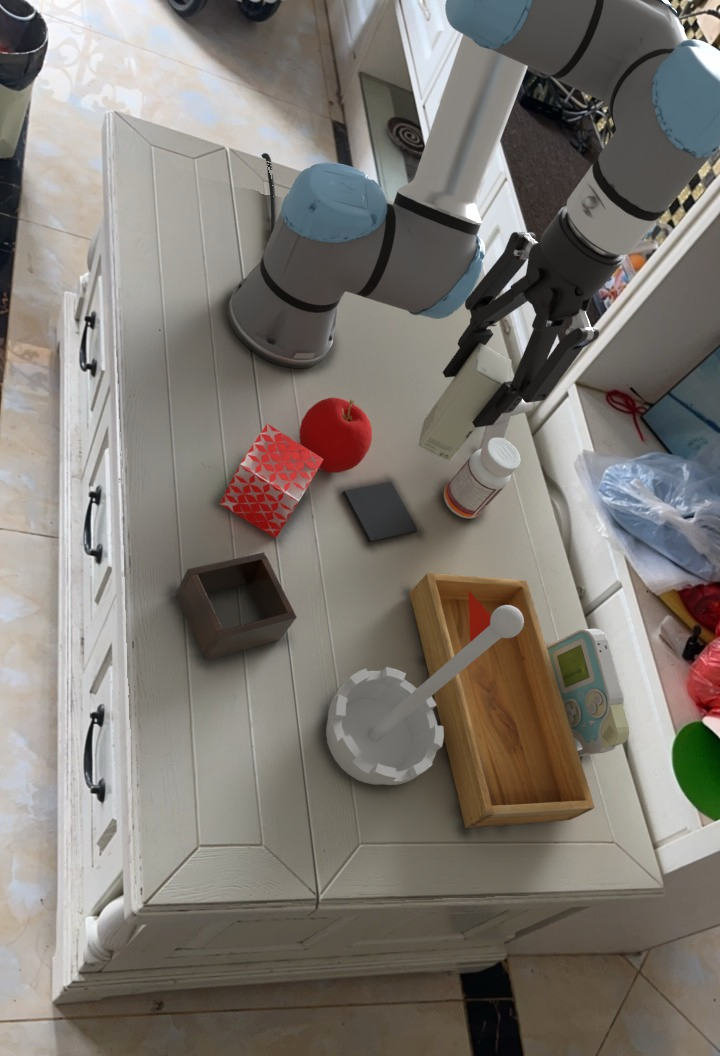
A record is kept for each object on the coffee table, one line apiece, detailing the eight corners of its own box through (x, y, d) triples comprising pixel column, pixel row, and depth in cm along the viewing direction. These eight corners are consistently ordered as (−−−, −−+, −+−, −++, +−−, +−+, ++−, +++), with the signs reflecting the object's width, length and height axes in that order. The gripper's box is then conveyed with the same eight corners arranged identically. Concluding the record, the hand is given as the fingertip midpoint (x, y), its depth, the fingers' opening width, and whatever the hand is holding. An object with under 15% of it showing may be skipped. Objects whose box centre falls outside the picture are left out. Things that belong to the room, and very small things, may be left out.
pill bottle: (470, 483, 127) (514, 433, 118) (485, 519, 125) (531, 471, 116) (435, 484, 124) (477, 433, 115) (450, 521, 121) (494, 472, 112)
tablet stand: (480, 406, 136) (510, 369, 129) (508, 446, 134) (539, 411, 127) (441, 416, 131) (470, 377, 124) (469, 458, 129) (500, 421, 122)
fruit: (363, 454, 120) (396, 406, 112) (340, 495, 115) (372, 448, 107) (306, 416, 119) (335, 365, 111) (279, 457, 114) (307, 406, 106)
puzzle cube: (246, 463, 111) (267, 423, 104) (300, 496, 112) (323, 459, 106) (219, 504, 106) (239, 464, 100) (275, 538, 107) (298, 501, 101)
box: (448, 463, 103) (509, 390, 93) (416, 447, 102) (473, 371, 92) (454, 432, 106) (514, 358, 96) (423, 416, 105) (479, 340, 95)
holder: (174, 594, 98) (187, 569, 93) (249, 576, 103) (264, 551, 99) (205, 661, 96) (219, 638, 91) (280, 639, 101) (297, 617, 97)
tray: (407, 593, 112) (428, 570, 108) (505, 600, 119) (528, 578, 114) (460, 830, 99) (486, 815, 95) (566, 822, 106) (595, 808, 102)
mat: (342, 492, 115) (344, 490, 115) (389, 483, 120) (391, 481, 119) (369, 543, 113) (371, 541, 113) (416, 532, 118) (418, 530, 117)
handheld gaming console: (560, 763, 113) (532, 652, 116) (577, 761, 114) (548, 651, 118) (620, 744, 103) (587, 624, 107) (637, 742, 105) (604, 623, 108)
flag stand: (434, 785, 101) (599, 677, 77) (333, 800, 94) (478, 687, 71) (404, 682, 106) (549, 549, 82) (305, 690, 99) (432, 549, 75)
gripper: (516, 151, 81) (402, 334, 99) (625, 312, 76) (484, 473, 94) (570, 156, 85) (451, 330, 103) (677, 309, 80) (532, 463, 98)
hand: (467, 398), depth 98 cm, fingers closed on box, 6 cm apart
